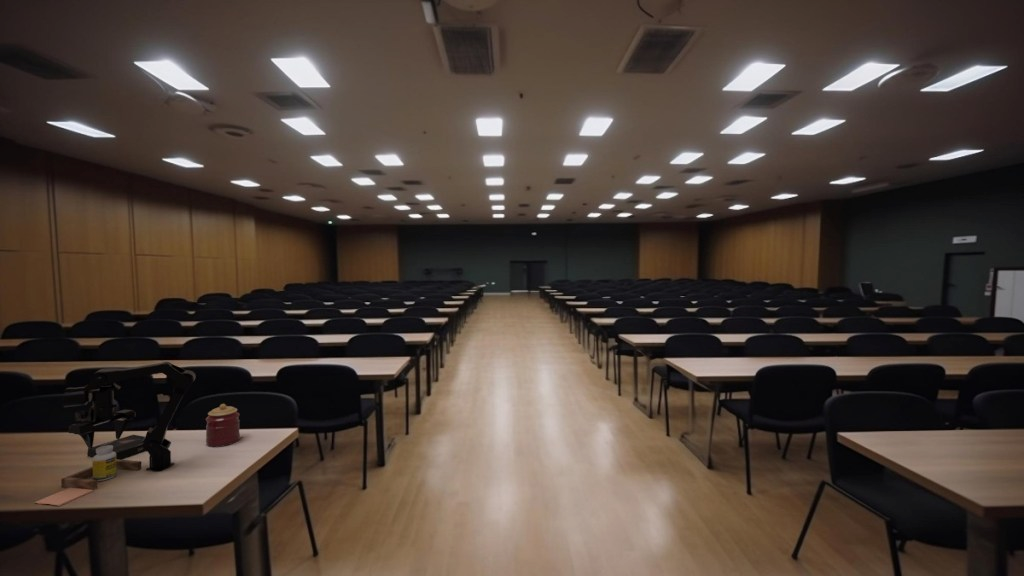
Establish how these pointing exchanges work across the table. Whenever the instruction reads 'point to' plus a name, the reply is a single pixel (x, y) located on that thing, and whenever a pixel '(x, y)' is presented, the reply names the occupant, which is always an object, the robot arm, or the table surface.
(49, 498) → the terracotta mat
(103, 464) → the pill bottle
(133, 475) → the table surface
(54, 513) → the table surface
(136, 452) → the portable cd player
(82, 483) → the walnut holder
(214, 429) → the canister
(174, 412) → the robot arm
